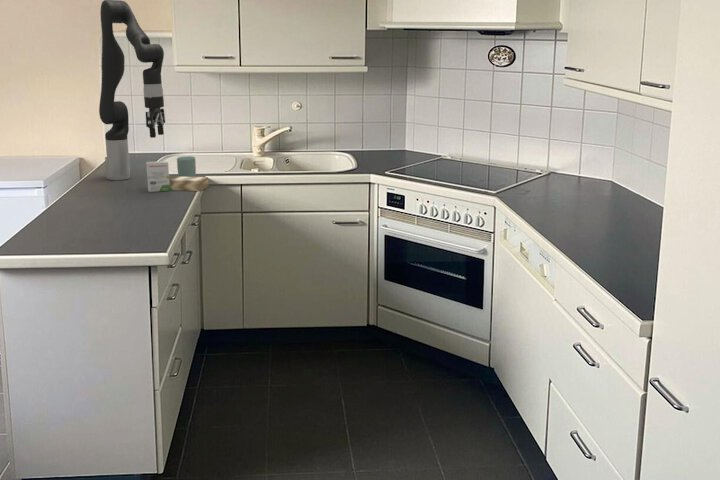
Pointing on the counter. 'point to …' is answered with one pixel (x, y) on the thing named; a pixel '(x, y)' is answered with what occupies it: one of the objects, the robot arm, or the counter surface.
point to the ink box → (158, 176)
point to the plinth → (189, 183)
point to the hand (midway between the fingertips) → (157, 136)
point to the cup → (186, 166)
